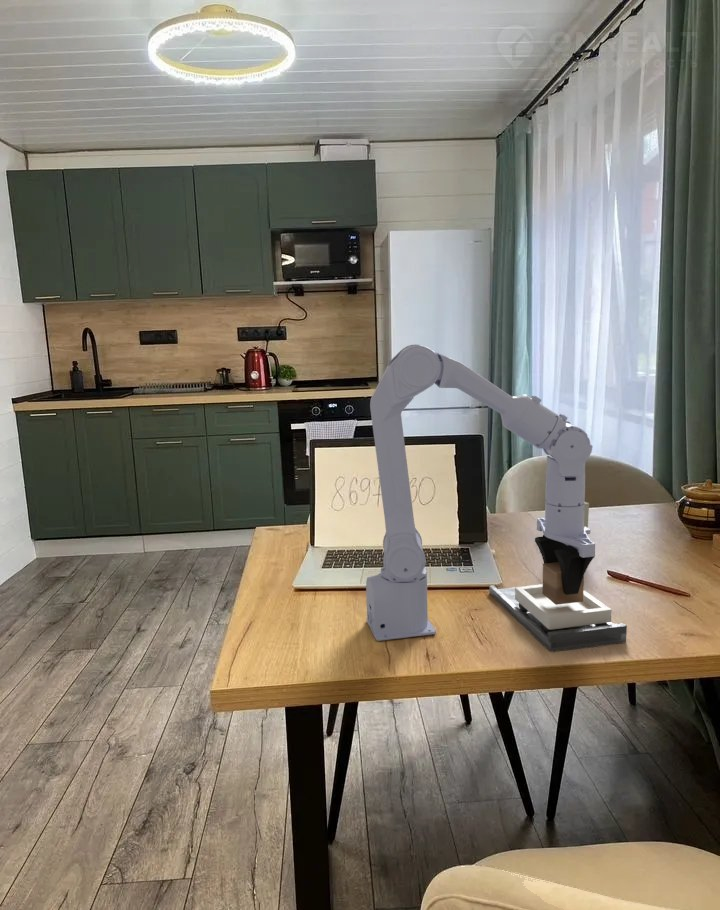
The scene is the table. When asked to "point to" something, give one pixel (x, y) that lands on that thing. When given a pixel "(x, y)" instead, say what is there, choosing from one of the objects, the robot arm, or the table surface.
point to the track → (562, 636)
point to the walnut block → (558, 586)
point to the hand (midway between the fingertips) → (562, 587)
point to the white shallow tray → (561, 609)
